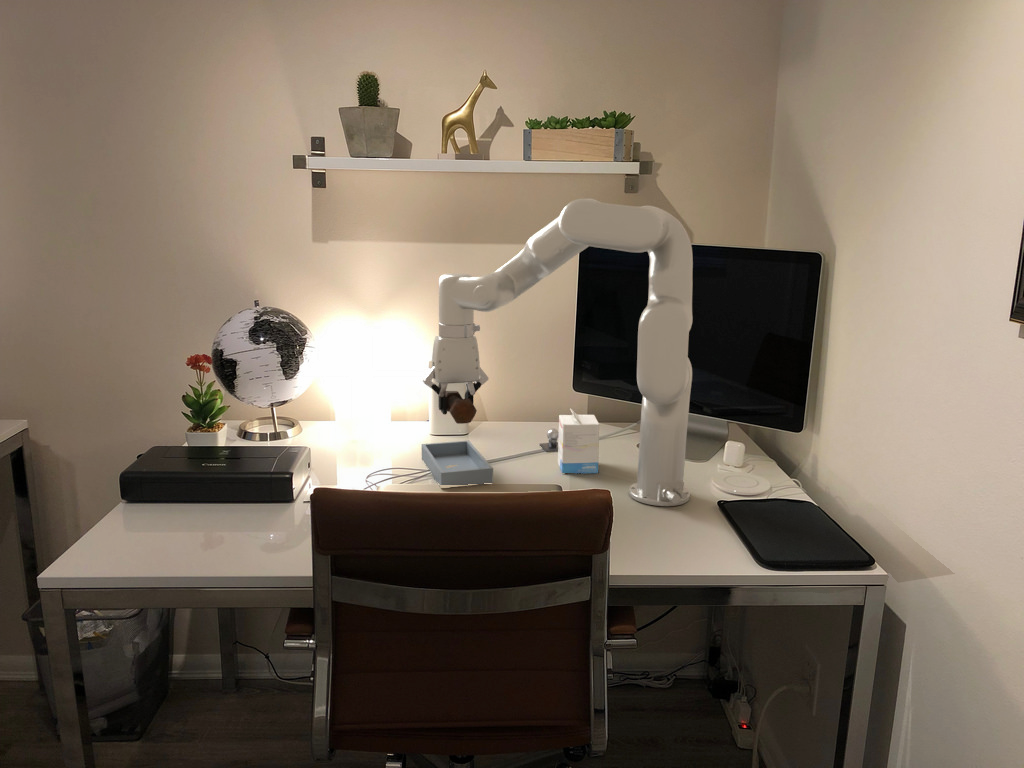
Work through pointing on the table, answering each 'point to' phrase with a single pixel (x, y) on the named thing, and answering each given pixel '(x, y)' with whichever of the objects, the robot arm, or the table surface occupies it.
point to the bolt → (460, 407)
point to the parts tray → (456, 463)
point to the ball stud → (551, 441)
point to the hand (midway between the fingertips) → (455, 411)
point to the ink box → (578, 443)
